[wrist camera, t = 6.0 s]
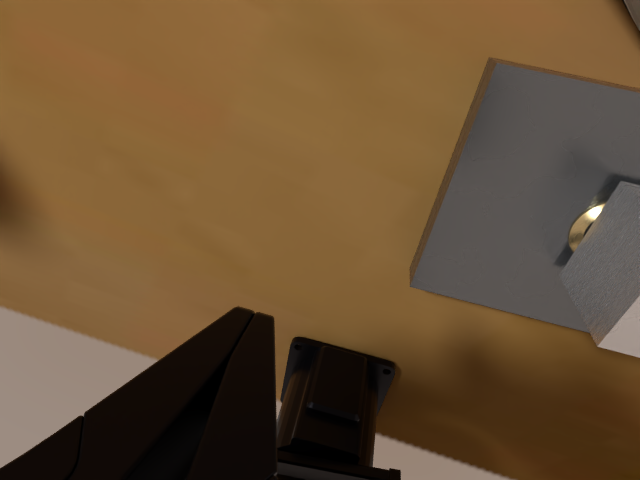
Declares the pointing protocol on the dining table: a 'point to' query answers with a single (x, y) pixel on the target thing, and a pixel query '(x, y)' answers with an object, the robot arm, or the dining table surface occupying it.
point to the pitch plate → (527, 188)
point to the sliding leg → (610, 273)
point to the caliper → (634, 10)
